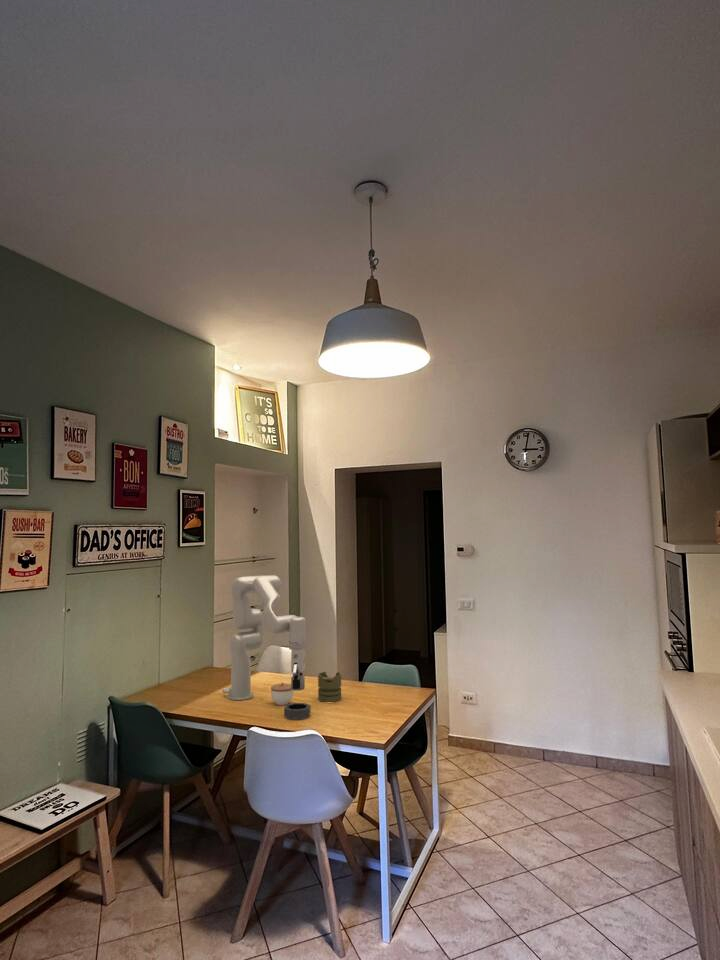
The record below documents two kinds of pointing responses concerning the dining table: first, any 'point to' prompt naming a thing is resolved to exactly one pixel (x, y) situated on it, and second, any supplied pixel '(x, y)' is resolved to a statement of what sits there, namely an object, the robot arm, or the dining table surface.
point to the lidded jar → (281, 693)
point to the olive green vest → (329, 687)
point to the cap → (302, 683)
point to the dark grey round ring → (297, 711)
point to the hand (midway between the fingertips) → (297, 686)
